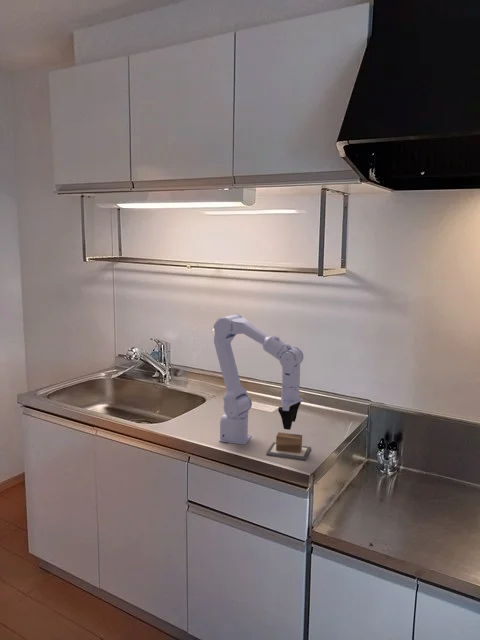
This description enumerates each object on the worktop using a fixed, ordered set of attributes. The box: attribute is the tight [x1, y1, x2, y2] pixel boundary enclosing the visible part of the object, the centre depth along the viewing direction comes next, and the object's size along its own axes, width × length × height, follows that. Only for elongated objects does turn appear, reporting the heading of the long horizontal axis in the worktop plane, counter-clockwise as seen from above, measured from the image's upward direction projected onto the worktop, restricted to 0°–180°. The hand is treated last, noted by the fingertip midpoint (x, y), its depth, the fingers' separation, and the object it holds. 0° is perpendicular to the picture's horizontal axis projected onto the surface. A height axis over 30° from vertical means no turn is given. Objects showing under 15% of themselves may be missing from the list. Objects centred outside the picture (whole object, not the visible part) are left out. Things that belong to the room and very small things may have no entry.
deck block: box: [275, 432, 303, 453], centre depth 171 cm, size 4×8×5 cm, turn 73°
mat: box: [265, 441, 312, 461], centre depth 171 cm, size 13×10×1 cm
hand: (289, 425), depth 170 cm, fingers open, 7 cm apart
